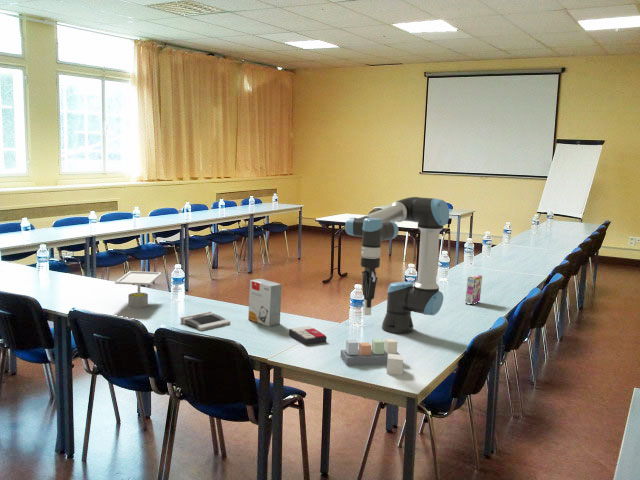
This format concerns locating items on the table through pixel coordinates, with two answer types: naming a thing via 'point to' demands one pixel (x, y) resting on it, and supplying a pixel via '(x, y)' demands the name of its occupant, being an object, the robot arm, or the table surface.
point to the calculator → (307, 335)
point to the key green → (378, 346)
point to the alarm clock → (205, 321)
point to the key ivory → (390, 346)
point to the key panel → (364, 358)
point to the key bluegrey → (351, 347)
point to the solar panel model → (138, 279)
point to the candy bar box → (473, 289)
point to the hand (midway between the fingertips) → (367, 314)
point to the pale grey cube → (395, 364)
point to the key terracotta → (364, 349)
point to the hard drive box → (264, 302)
